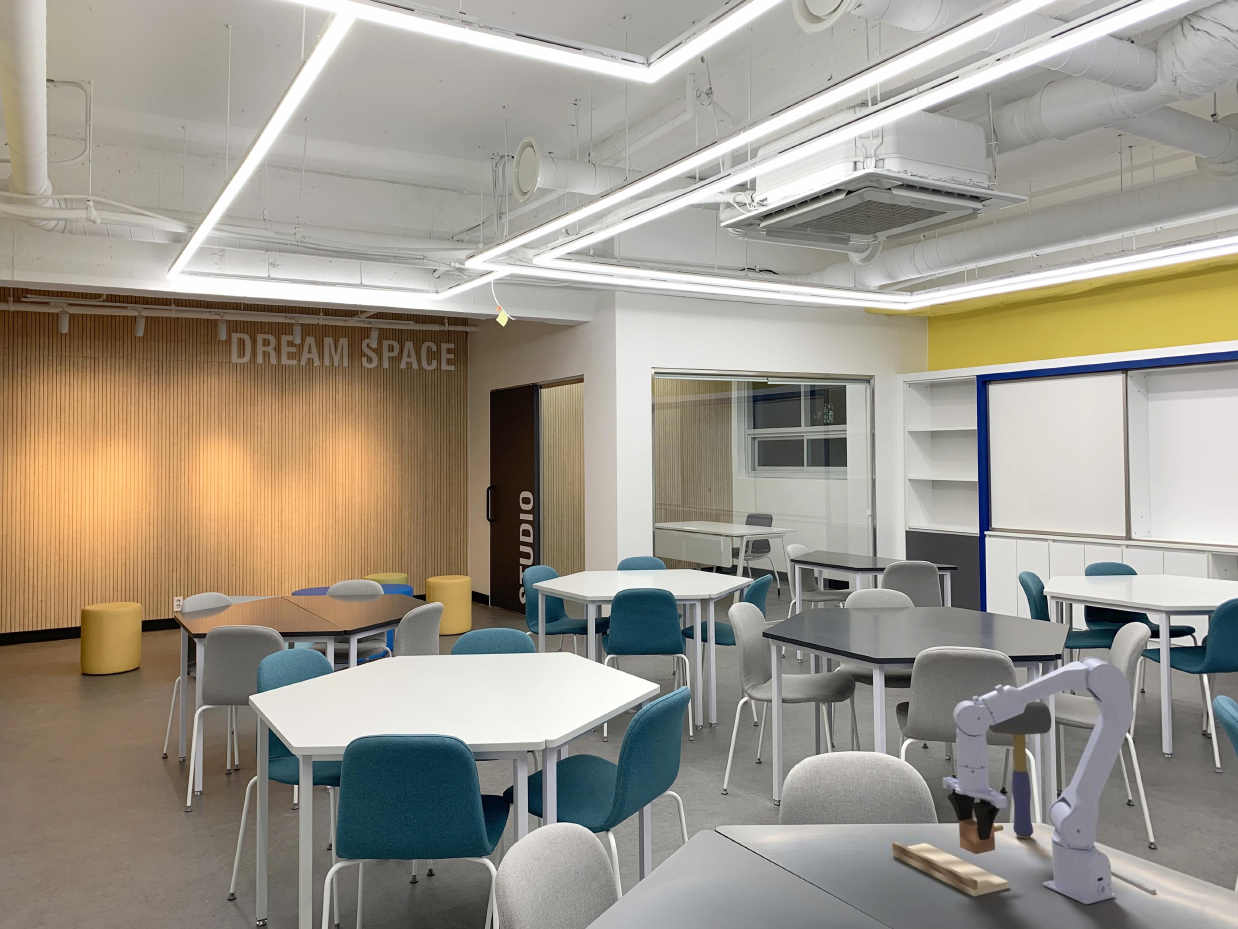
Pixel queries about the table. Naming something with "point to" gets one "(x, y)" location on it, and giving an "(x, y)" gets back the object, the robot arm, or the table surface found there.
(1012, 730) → the rubber mallet
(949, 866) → the board
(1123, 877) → the pale grey thin rod
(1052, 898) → the table surface
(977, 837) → the brown wooden block
